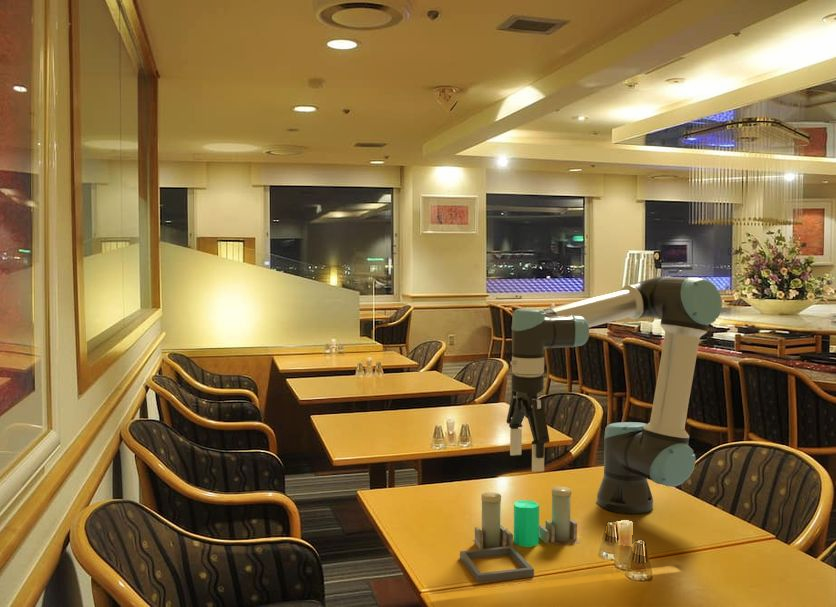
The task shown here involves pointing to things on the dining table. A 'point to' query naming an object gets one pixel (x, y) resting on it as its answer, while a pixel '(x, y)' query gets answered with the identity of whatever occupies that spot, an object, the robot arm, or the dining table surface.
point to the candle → (526, 523)
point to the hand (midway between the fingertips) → (526, 462)
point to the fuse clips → (544, 534)
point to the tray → (496, 575)
